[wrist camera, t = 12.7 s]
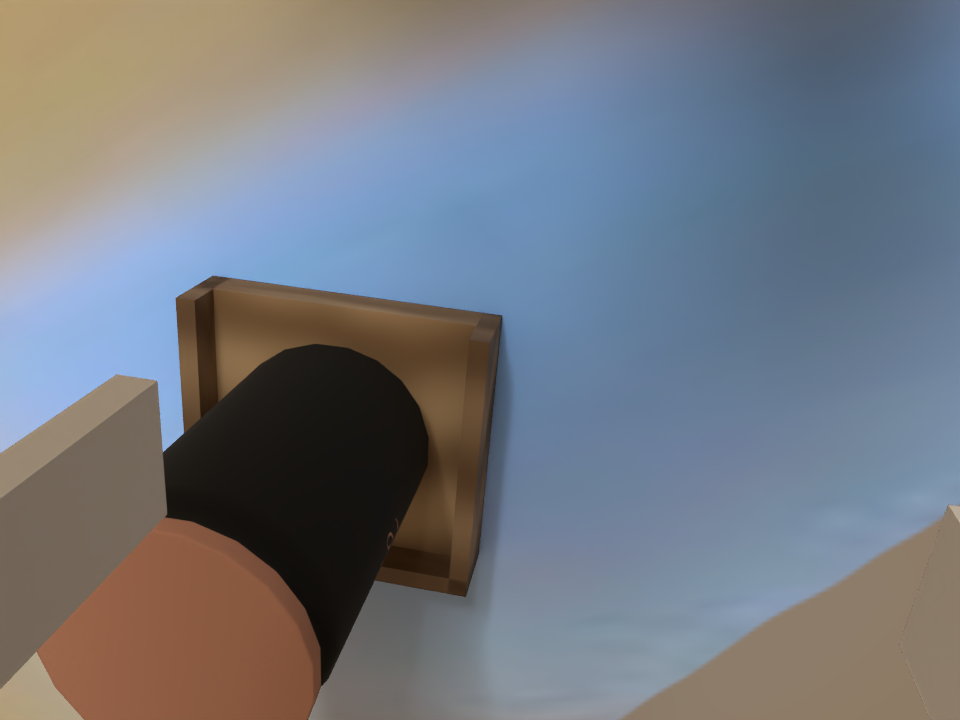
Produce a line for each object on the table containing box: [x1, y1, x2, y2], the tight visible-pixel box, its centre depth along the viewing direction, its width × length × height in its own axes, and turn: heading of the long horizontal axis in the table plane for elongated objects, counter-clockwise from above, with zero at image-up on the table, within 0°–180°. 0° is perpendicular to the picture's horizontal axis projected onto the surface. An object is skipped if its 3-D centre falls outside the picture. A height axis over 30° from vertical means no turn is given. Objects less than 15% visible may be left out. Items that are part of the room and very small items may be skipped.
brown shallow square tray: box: [176, 276, 502, 597], centre depth 46 cm, size 15×16×4 cm
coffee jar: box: [36, 344, 429, 720], centre depth 37 cm, size 11×11×18 cm
